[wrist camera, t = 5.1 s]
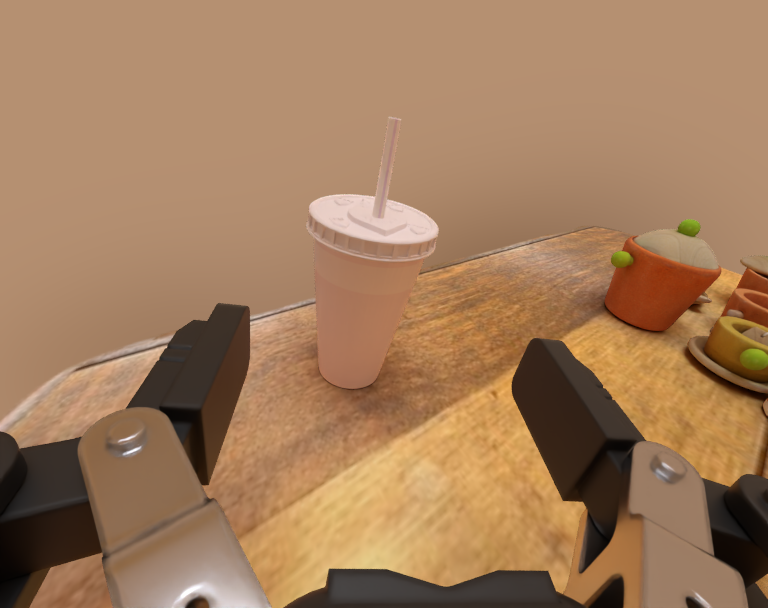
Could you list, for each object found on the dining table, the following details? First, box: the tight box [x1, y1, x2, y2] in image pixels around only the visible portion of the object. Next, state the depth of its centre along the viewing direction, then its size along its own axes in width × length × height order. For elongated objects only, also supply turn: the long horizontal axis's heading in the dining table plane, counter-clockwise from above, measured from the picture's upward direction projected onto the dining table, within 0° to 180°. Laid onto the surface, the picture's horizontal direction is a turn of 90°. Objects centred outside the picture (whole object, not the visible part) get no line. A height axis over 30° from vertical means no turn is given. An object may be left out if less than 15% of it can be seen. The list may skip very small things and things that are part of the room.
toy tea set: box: [605, 219, 768, 394], centre depth 37 cm, size 26×16×10 cm, turn 132°
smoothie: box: [306, 117, 439, 389], centre depth 20 cm, size 6×6×14 cm
